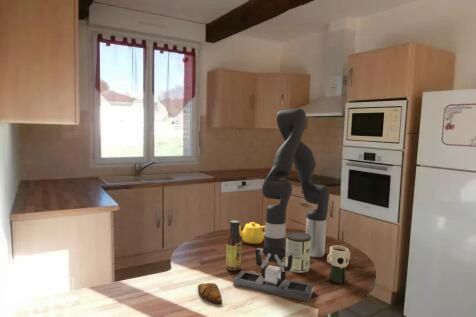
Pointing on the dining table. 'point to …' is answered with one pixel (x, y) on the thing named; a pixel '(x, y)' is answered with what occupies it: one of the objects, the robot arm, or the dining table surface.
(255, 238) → the teapot
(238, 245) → the sauce bottle
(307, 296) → the tray
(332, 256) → the character mug
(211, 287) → the croissant
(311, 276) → the dining table surface
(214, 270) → the dining table surface
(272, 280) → the white rectangular block
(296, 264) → the coffee can
